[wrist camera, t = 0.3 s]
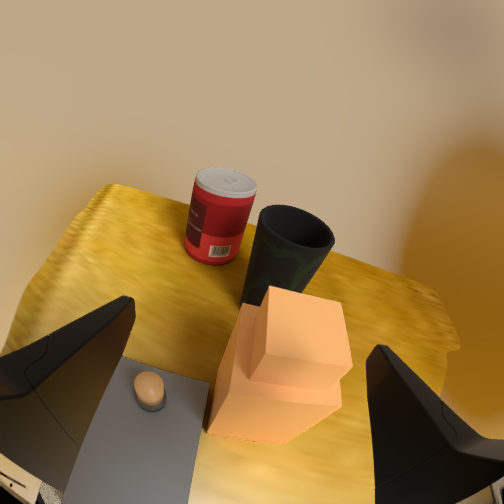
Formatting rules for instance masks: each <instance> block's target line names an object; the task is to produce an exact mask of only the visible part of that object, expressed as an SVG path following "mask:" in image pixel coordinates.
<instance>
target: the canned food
mask: <svg viewBox="0 0 504 504" xmlns="http://www.w3.org/2000/svg"><path fill="white" fill-rule="evenodd" d="M256 191H257V184H256V182H255V181H254V180H253V179H252V178H250V177H249V176H247V175H245V174H243V173H241V172H238V171H235V170H231V169H225V168H206V169H202V170H200V171H198V173H197V174H196V178H195V182H194V187H193V192H192V198H191V203H190V210H189V216H188V222H187V229H186V236H185V247H186V251H187V253H188V254H189V255H190V256H191V257H192V258H193V259H195V260H196V261H198V262H201V263H204V264H208V265H222V264H225V263H228V262H230V261H231V260H233V259H234V257H235V256H236V254H237V253H238V250H239V247H240V244H241V241H242V237H243V234H244V231H245V227H246V224H247V221H248V218H249V214H250V211H251V208H252V205H253V202H254V198H255V194H256Z"/></svg>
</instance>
